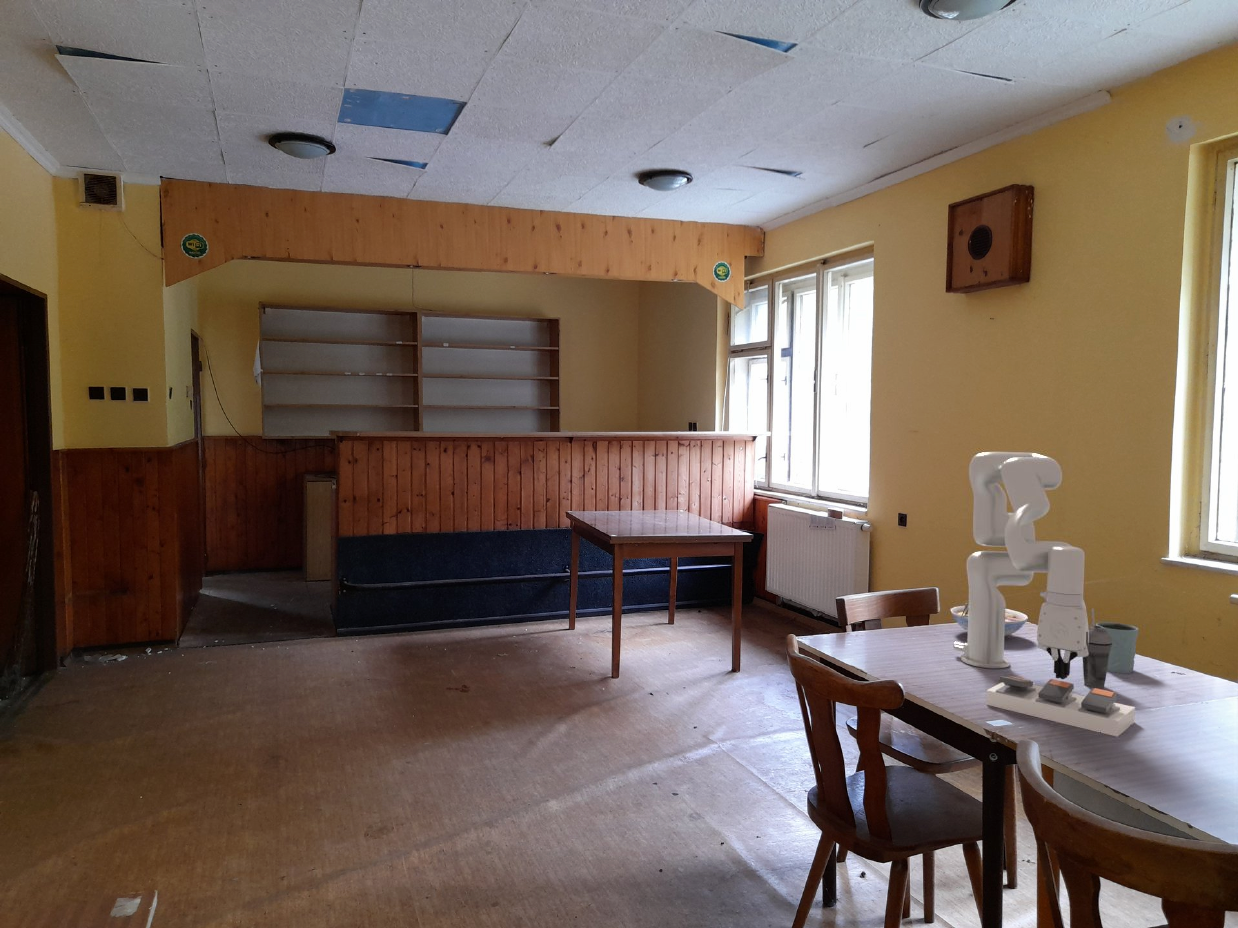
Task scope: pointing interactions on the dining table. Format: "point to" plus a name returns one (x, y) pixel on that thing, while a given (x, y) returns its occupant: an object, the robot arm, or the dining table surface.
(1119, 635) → the teal plant pot
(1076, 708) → the rocker switch panel
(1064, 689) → the middle rocker
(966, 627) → the ramen bowl
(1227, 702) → the dining table surface
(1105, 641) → the beverage cup
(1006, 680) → the left rocker
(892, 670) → the dining table surface
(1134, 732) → the dining table surface
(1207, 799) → the dining table surface
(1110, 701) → the right rocker
